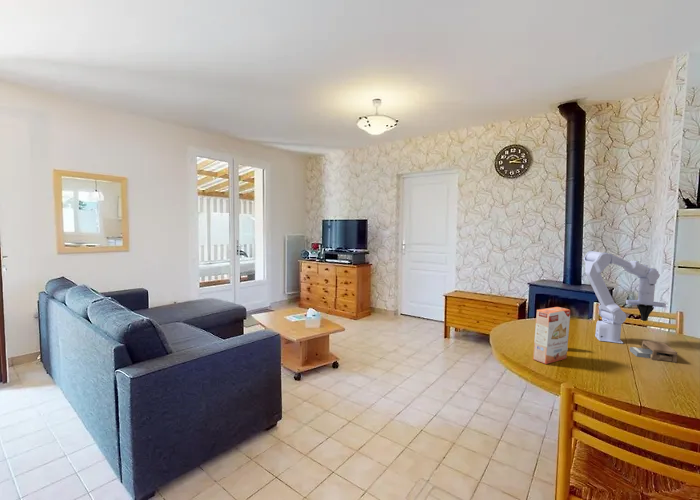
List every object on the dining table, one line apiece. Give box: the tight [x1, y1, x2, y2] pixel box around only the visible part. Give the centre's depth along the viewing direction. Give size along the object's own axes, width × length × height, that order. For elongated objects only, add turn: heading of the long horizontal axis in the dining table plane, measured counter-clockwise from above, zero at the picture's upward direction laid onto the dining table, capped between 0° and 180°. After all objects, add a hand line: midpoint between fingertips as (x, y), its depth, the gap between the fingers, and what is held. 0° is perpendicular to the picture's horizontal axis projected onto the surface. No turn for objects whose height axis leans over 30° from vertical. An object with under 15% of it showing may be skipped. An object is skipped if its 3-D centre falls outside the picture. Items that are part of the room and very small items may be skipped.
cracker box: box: [532, 306, 571, 365], centre depth 140 cm, size 14×6×21 cm, turn 117°
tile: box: [629, 346, 668, 359], centre depth 146 cm, size 11×7×2 cm, turn 71°
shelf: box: [640, 340, 678, 364], centre depth 145 cm, size 8×12×4 cm, turn 157°
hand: (643, 320), depth 164 cm, fingers closed
